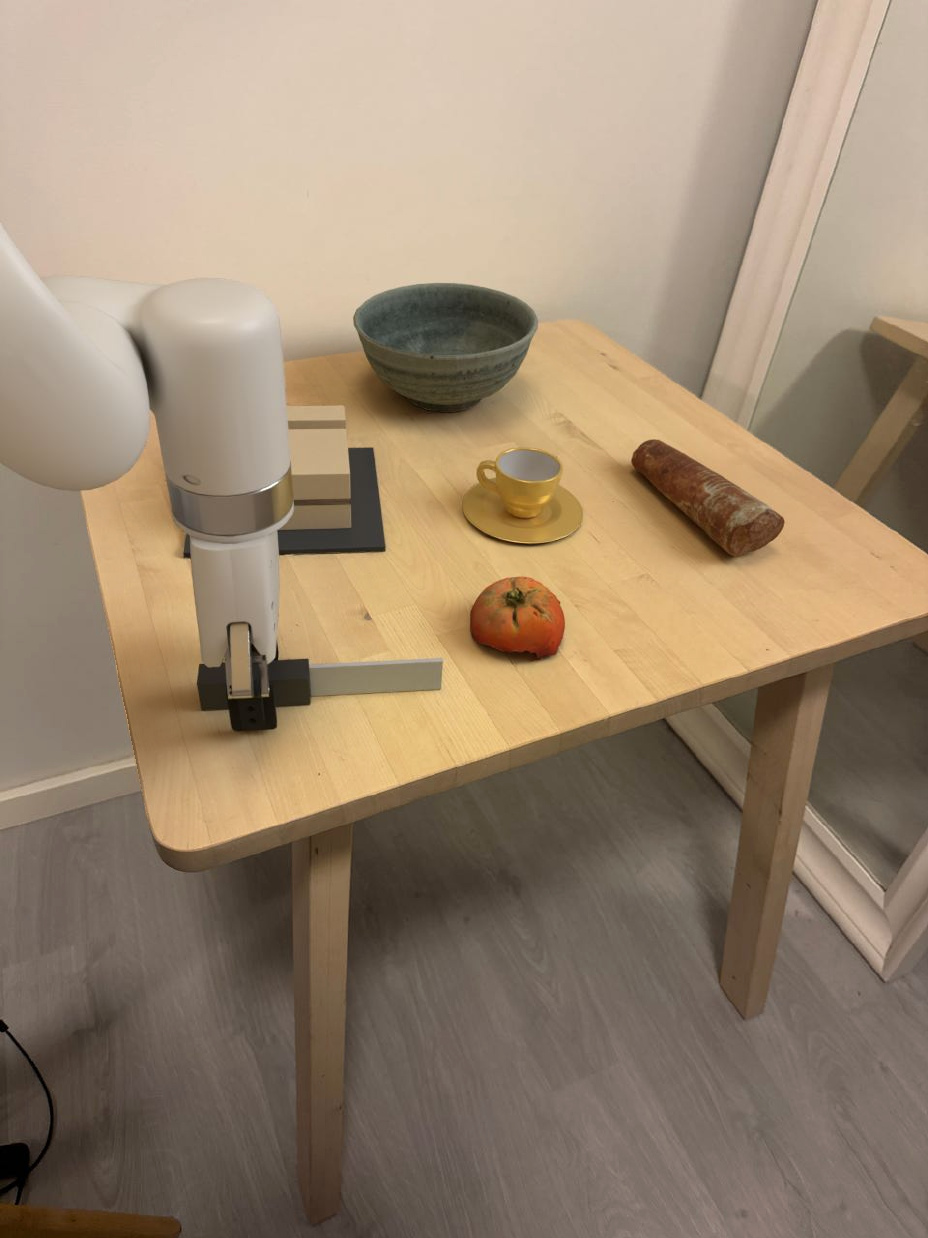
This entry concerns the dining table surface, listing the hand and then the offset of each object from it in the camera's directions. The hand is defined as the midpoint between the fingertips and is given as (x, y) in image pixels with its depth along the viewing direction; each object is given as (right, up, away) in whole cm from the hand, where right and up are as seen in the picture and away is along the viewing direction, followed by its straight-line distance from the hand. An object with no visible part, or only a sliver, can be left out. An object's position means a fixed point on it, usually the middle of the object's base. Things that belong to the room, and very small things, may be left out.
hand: (256, 691), depth 68 cm
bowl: (+13, +32, +40) cm, 53 cm away
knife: (+5, 0, +1) cm, 5 cm away
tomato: (+20, +4, +8) cm, 22 cm away
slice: (-2, +21, +25) cm, 32 cm away
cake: (-2, +17, +21) cm, 27 cm away
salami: (+38, +16, +24) cm, 48 cm away
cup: (+21, +16, +22) cm, 35 cm away
